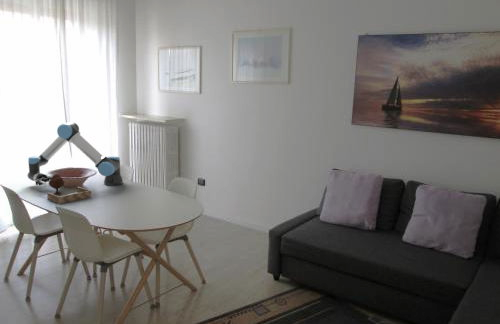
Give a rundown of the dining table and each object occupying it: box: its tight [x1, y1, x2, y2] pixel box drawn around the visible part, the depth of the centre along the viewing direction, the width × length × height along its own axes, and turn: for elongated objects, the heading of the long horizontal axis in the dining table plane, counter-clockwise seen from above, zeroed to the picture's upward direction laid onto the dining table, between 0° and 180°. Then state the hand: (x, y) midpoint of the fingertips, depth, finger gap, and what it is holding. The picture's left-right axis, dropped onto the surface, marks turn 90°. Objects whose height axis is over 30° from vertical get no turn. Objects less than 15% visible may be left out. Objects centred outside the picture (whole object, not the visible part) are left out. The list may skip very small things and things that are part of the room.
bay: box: [46, 186, 92, 205], centre depth 299 cm, size 24×17×5 cm
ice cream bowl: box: [47, 173, 66, 196], centre depth 309 cm, size 11×11×15 cm
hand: (54, 182), depth 310 cm, fingers open, 13 cm apart
